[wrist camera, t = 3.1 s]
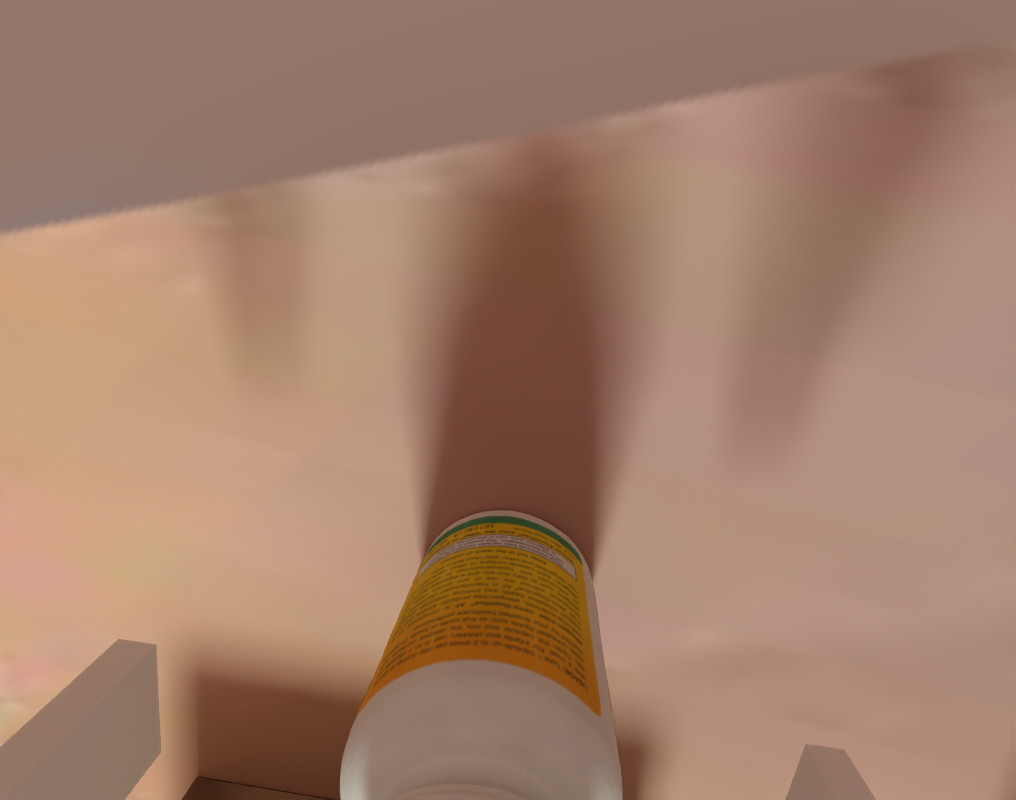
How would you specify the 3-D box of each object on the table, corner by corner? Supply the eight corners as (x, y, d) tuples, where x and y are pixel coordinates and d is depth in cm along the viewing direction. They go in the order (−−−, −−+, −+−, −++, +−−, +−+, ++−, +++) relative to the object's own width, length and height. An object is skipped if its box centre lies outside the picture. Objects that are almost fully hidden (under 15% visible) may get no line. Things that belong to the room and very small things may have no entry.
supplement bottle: (615, 628, 17) (707, 1090, 7) (459, 673, 17) (365, 1140, 8) (555, 478, 15) (574, 803, 6) (391, 534, 16) (192, 894, 7)
